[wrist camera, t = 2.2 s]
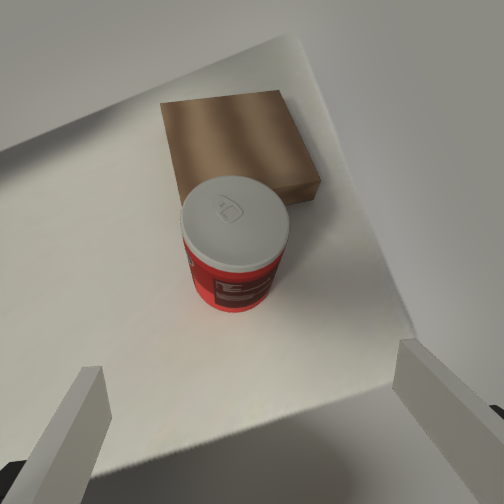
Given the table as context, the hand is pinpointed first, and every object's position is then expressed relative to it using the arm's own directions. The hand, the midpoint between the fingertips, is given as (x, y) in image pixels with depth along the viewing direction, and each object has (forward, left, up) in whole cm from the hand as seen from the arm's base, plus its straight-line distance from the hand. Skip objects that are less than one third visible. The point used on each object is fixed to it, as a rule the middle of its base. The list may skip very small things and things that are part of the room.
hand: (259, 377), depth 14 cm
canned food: (+2, +11, -15) cm, 18 cm away
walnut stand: (+6, +25, -14) cm, 30 cm away
